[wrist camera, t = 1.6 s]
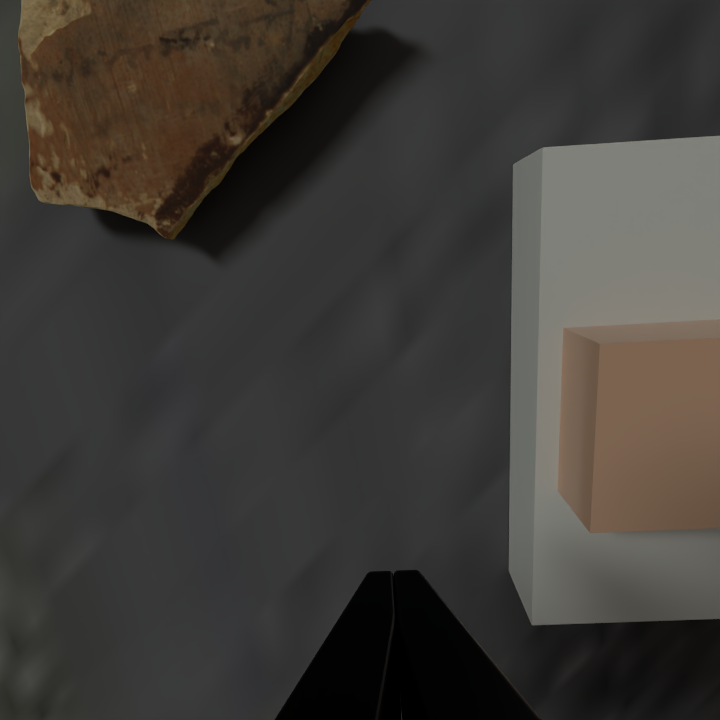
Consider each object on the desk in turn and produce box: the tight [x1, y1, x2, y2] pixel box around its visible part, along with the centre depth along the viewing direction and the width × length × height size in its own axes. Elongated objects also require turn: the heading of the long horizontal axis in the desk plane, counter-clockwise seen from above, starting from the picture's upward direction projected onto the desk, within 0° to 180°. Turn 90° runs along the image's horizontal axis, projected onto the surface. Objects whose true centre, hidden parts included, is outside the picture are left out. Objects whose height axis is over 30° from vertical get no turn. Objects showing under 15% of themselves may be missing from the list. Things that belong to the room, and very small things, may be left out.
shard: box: [18, 0, 371, 239], centre depth 16 cm, size 11×8×2 cm
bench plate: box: [509, 136, 720, 625], centre depth 17 cm, size 16×10×3 cm, turn 3°
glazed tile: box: [558, 319, 720, 533], centre depth 15 cm, size 6×6×2 cm
